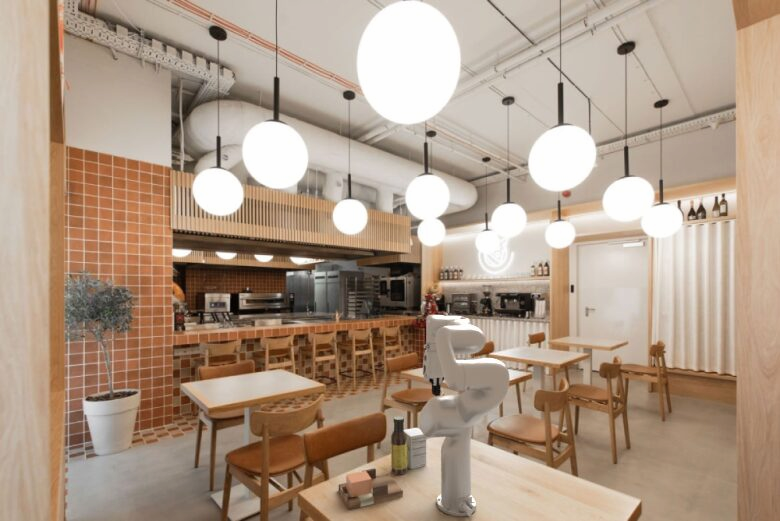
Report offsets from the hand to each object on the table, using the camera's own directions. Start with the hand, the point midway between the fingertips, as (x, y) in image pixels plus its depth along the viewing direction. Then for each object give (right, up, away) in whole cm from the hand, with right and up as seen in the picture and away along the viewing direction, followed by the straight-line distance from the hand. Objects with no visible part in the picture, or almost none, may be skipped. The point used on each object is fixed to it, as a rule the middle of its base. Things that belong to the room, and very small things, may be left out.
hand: (436, 394), depth 141 cm
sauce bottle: (-14, -29, -1) cm, 33 cm away
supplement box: (-8, -30, +5) cm, 31 cm away
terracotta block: (-28, -26, -18) cm, 42 cm away
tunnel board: (-25, -28, -16) cm, 41 cm away
